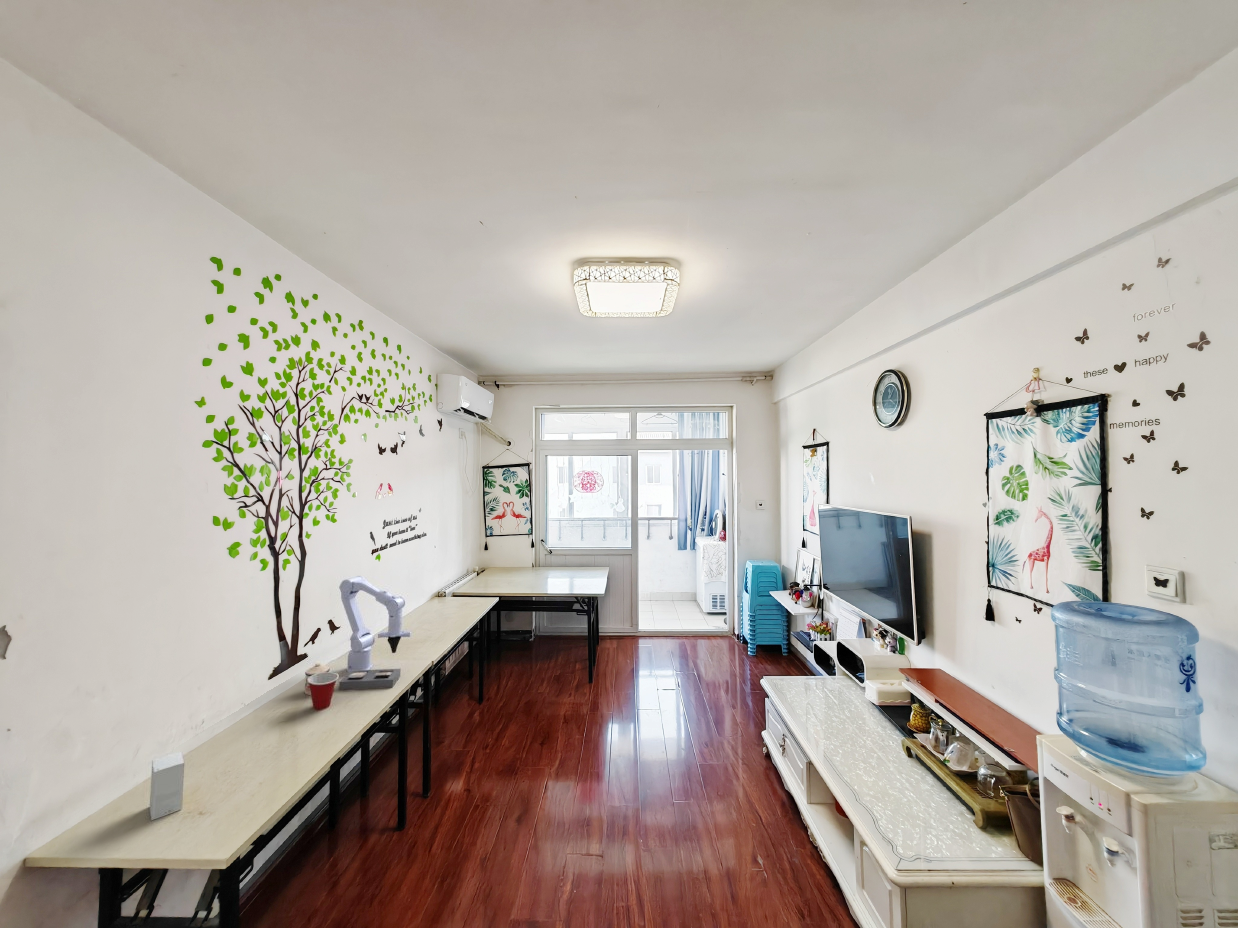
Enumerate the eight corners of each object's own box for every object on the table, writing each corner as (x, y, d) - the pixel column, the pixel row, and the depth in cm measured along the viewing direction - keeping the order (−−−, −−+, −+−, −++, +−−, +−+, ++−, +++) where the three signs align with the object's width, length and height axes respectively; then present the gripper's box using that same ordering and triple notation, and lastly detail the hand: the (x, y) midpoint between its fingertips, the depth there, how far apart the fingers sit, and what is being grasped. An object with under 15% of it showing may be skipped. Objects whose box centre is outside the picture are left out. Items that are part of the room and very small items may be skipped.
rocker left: (348, 677, 210) (348, 674, 211) (355, 674, 218) (355, 672, 218) (360, 677, 211) (361, 674, 211) (366, 674, 219) (367, 671, 219)
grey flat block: (338, 689, 208) (339, 681, 208) (349, 678, 219) (349, 670, 220) (392, 687, 211) (392, 679, 211) (400, 675, 223) (400, 668, 223)
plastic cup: (324, 714, 187) (325, 683, 187) (299, 711, 188) (300, 681, 188) (344, 701, 197) (345, 672, 198) (320, 699, 199) (321, 670, 199)
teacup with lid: (299, 695, 202) (300, 667, 202) (312, 685, 211) (313, 659, 211) (327, 695, 202) (328, 668, 202) (340, 686, 211) (341, 659, 211)
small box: (182, 809, 133) (184, 762, 134) (150, 821, 129) (153, 772, 129) (179, 795, 139) (181, 750, 139) (149, 806, 134) (151, 759, 135)
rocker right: (375, 675, 212) (375, 672, 213) (380, 674, 219) (380, 672, 220) (387, 674, 213) (387, 671, 213) (392, 674, 220) (392, 671, 221)
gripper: (376, 626, 223) (374, 655, 222) (408, 625, 225) (407, 654, 225) (380, 621, 230) (379, 650, 229) (412, 621, 232) (411, 649, 232)
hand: (394, 652), depth 228 cm, fingers closed
